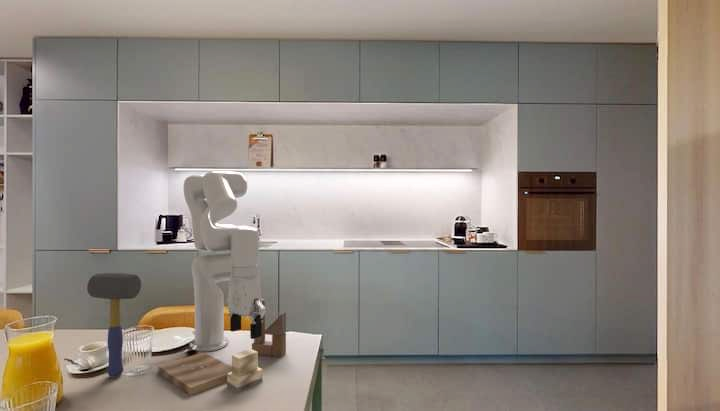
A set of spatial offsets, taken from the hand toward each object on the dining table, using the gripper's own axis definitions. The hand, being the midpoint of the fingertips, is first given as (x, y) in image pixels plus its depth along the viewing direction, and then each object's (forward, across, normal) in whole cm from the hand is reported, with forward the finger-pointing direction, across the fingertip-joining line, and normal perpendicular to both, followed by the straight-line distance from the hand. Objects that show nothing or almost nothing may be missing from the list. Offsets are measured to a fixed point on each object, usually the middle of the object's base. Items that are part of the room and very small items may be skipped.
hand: (245, 333), depth 109 cm
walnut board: (+14, -16, -6) cm, 22 cm away
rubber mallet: (+14, -33, -22) cm, 42 cm away
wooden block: (+14, -13, +17) cm, 26 cm away
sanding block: (+14, -1, 0) cm, 14 cm away
